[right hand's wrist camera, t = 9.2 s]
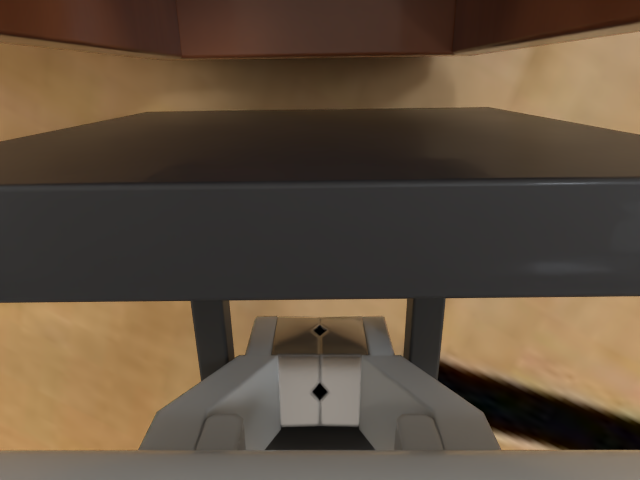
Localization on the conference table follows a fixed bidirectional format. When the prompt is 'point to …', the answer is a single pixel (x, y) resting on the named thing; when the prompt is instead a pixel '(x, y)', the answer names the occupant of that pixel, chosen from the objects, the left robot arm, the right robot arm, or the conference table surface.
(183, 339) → the conference table surface
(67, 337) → the conference table surface
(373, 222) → the drawer
